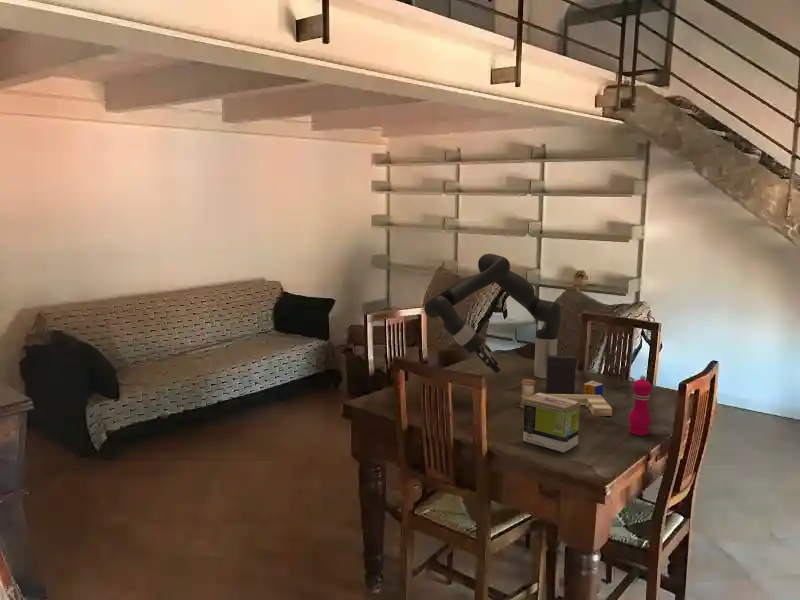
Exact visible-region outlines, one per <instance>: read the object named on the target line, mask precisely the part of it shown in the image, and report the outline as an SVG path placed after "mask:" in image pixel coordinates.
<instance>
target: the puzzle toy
mask: <svg viewBox="0 0 800 600" xmlns="http://www.w3.org/2000/svg"><path fill="white" fill-rule="evenodd" d="M603 394H604V384H603V383H600V382H597V381H595V380H590V381H588V382H585V383H583V395H601V396H602V397H604V395H603Z"/></svg>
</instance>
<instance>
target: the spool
mask: <svg viewBox="0 0 800 600" xmlns="http://www.w3.org/2000/svg"><path fill="white" fill-rule="evenodd" d="M520 383H521V403H520V405H519V406H520V408H521V409H523V410H524V400H525V398H528V397H530V396H532V395H535V385H536V381H535V380H534V379H522V380H521V382H520Z"/></svg>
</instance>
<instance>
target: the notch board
mask: <svg viewBox="0 0 800 600" xmlns="http://www.w3.org/2000/svg"><path fill="white" fill-rule="evenodd" d="M548 394H549V395H553V396H558V397H562V398H567V399H571V400H576V401H580V405H586V406H585V407H586V408H587V407H588V408H587V409H588V410H589V412H590V411H591V412H590V413H591V414H592V416H593V415H594V416H593V417H600V416H611V418H612V417H613V408H612V407H611V405H610V404H609V403H608V402H607V401H606V400H605V398H604V396H601V395H584V394H576V393H574V394H566V393H548Z"/></svg>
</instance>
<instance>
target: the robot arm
mask: <svg viewBox="0 0 800 600" xmlns="http://www.w3.org/2000/svg"><path fill="white" fill-rule="evenodd" d="M477 268H478V271H479V273H476V274H474V275H471V276H467V277H464V278H461V279H459V280H458V281H456V282H454V283H452V284H451V285H450V286H448V287H447V288H446V289H445V290H443V291H442V292H440V293H438V294H437V295H435V296H433V297H432V298H430V299H429V300H427V301H426V302H425V305H424V308H423V309H424V313H425V314H426V316H427V317H429V318H433V319H434V318H438V317H440V318H441V319H442V321H443V323H442V326H443V328H444V329H445V331H447V332H448V333H449V334H450V335H451V336H452V337H453V339H454V340H455V342H457V343H458V345H459V346H461V348H462V349H464V350H465V352H467V354H472V353H473V352H475V355H476V357H477V358H479V359H480V360H481V362H482V363H484V365H485V366H487V367H488V368H490V369H491V370H492V371H493V372H494V373H495V374H498V373H499V372H501V368H500V367H499V366H498V365H499V362H497V360H496V359H495V358H494V357H493V356H492V354H491V353H490V352H489V351H488V349H487V348H486V347H485V346H484V345H482V344H483V341H484V339H483V337H481V336H480V335H479V334H478V333H477V331H475V329H474V328H473V327H472V326H470V325H469V324H468V323H466V321H465V320H464V319H462V317H461V316H460V315H459V314H458V313H457V311H456V308H454V306H456V305H458V304H459V303H460V302H462V301H464V300H465V299H466V298H468V297H469V296H470V295H473V294H474V293H475V292H478V291H480V290H481V289H483V288H486V287H488V286H491V285H492V284H496V285H497V286H499V287H500V289H501V290H503V291H504V292H505V293H506V294H507V295H508V296H509V297H510V298H512V299H513V300H514V301H516V302H517V303H518V304H520V305H521V306H522V307H523V308H525V309H526V310H527V311H528V313H529V314H530V315H531V316H532V317H533V318H534V319H535V320H537V321H538V322H542V323H545V327H544V328H540V329H537V330H536V331H535V341H534V343H535V345H534V364H533V365H534V366H533V368H534V369H533V376H534V377H536V378H540V379H546V374H547V356H548V355H557V353H558V352H557V351H558V335H559V332H560V323H561V315H562V309H561V305H560V304H559V303H558V302H556V301H551V300H545V299H541V298H539V297H538V296H536V294H535V293H536V292H535V288H534V286H533V285H532V283H530V282H529V281H528V280H527V279H526V278H524V277H523V276H521V275H520V274H518V273H515V272H514V271H512V270H511V269H510V268H511V263H510V261H509V259H508V258H506V257H504V256H501V255H499V254H494V253H486V254H483V255H481V256H480V257H479V259H478V262H477Z"/></svg>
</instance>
